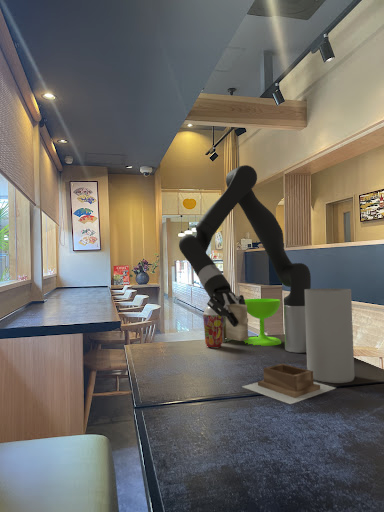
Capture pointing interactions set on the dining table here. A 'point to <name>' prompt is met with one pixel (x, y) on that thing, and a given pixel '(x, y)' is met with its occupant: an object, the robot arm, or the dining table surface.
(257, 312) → the wineglass
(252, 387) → the mat
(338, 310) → the cylinder vase
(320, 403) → the dining table surface
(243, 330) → the beech block
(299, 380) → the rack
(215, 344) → the smoothie
